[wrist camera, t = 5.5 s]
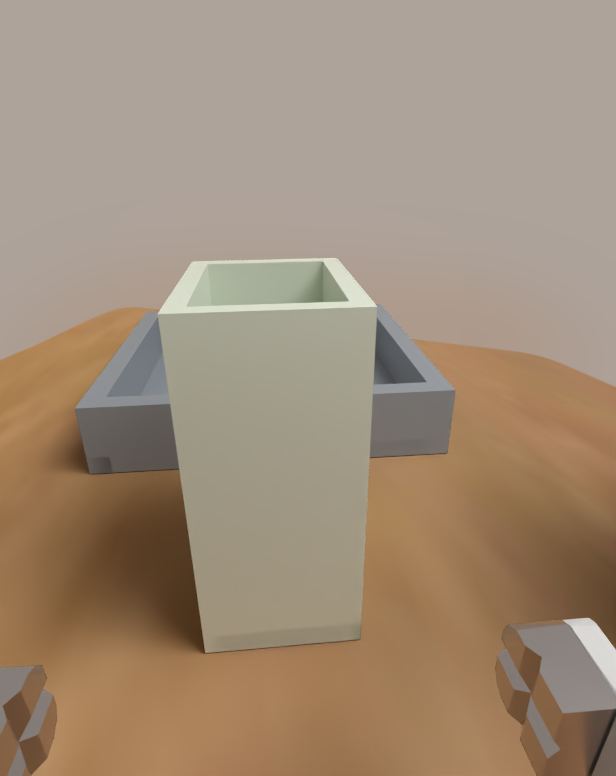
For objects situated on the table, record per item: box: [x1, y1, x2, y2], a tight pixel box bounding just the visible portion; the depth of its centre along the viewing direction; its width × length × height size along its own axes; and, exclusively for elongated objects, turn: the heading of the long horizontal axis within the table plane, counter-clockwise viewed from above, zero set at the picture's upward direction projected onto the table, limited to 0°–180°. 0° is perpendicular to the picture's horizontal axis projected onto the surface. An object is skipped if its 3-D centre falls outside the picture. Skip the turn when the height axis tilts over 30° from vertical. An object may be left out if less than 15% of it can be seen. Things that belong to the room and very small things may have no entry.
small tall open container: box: [158, 258, 377, 653], centre depth 18 cm, size 5×7×12 cm
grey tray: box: [75, 304, 455, 474], centre depth 35 cm, size 20×18×4 cm
